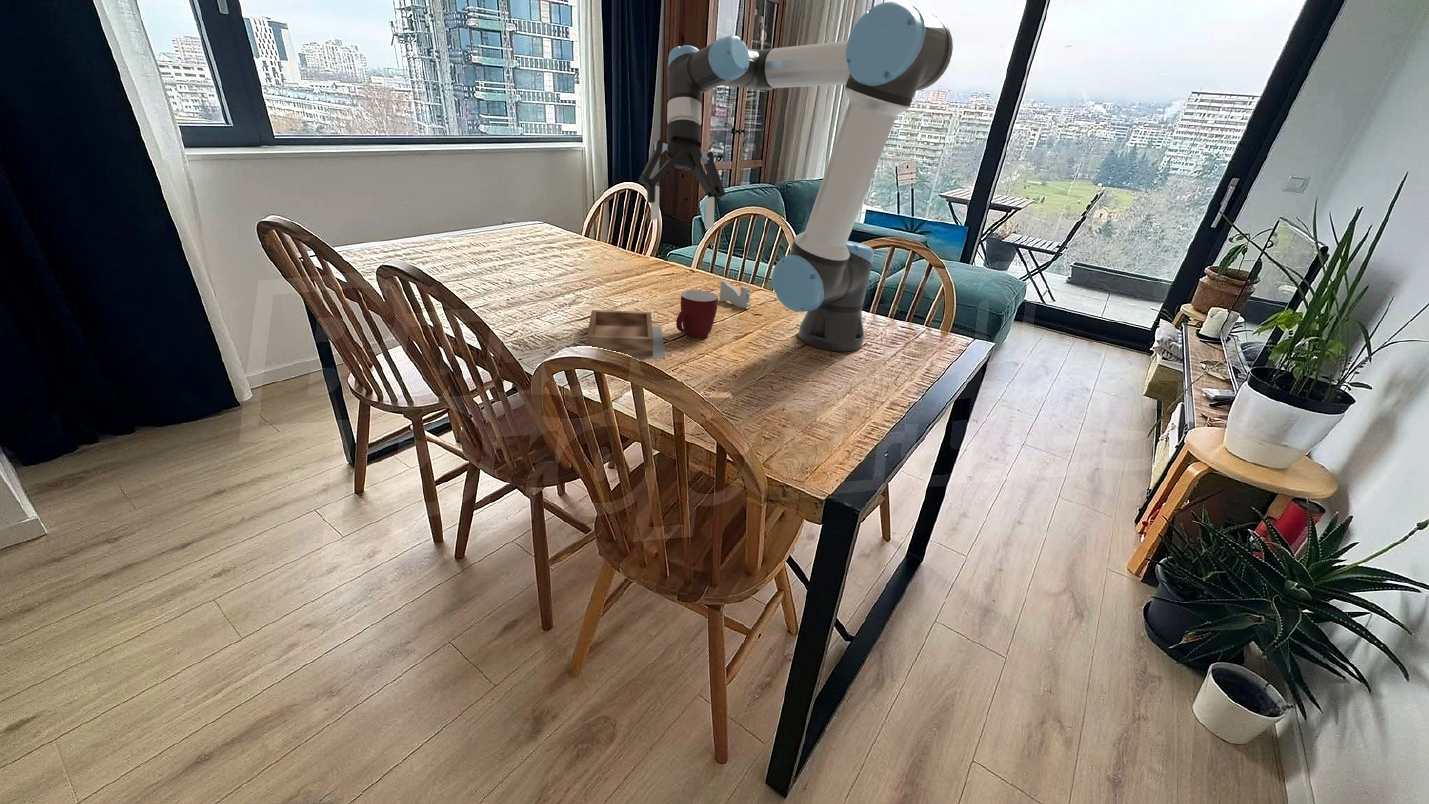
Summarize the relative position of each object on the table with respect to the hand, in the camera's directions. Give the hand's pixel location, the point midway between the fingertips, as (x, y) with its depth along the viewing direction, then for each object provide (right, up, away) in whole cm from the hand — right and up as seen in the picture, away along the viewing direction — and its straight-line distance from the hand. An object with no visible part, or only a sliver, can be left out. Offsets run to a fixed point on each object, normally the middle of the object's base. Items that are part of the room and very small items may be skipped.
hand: (682, 223), depth 126 cm
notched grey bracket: (+12, -14, +27) cm, 33 cm away
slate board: (-12, -27, -4) cm, 30 cm away
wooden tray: (-13, -26, -5) cm, 30 cm away
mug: (+2, -26, +2) cm, 26 cm away
